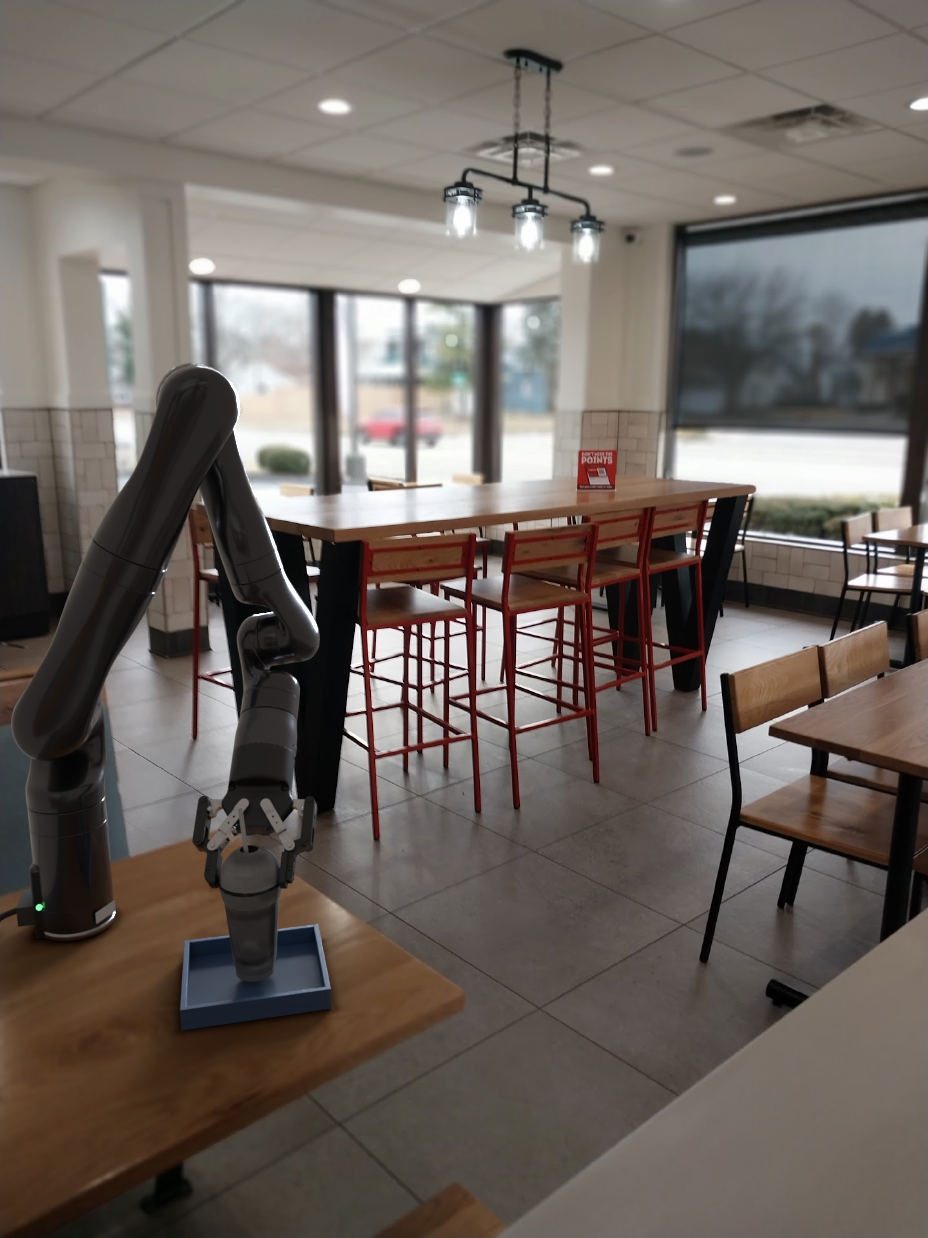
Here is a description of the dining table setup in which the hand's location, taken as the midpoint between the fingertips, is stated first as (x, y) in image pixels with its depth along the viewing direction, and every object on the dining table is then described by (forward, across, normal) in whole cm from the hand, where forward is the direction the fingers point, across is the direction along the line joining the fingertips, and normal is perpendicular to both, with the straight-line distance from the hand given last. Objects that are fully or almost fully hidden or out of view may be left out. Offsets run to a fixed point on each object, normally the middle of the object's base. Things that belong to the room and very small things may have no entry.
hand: (248, 886), depth 107 cm
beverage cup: (+7, 0, +9) cm, 12 cm away
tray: (+8, 0, +10) cm, 13 cm away
